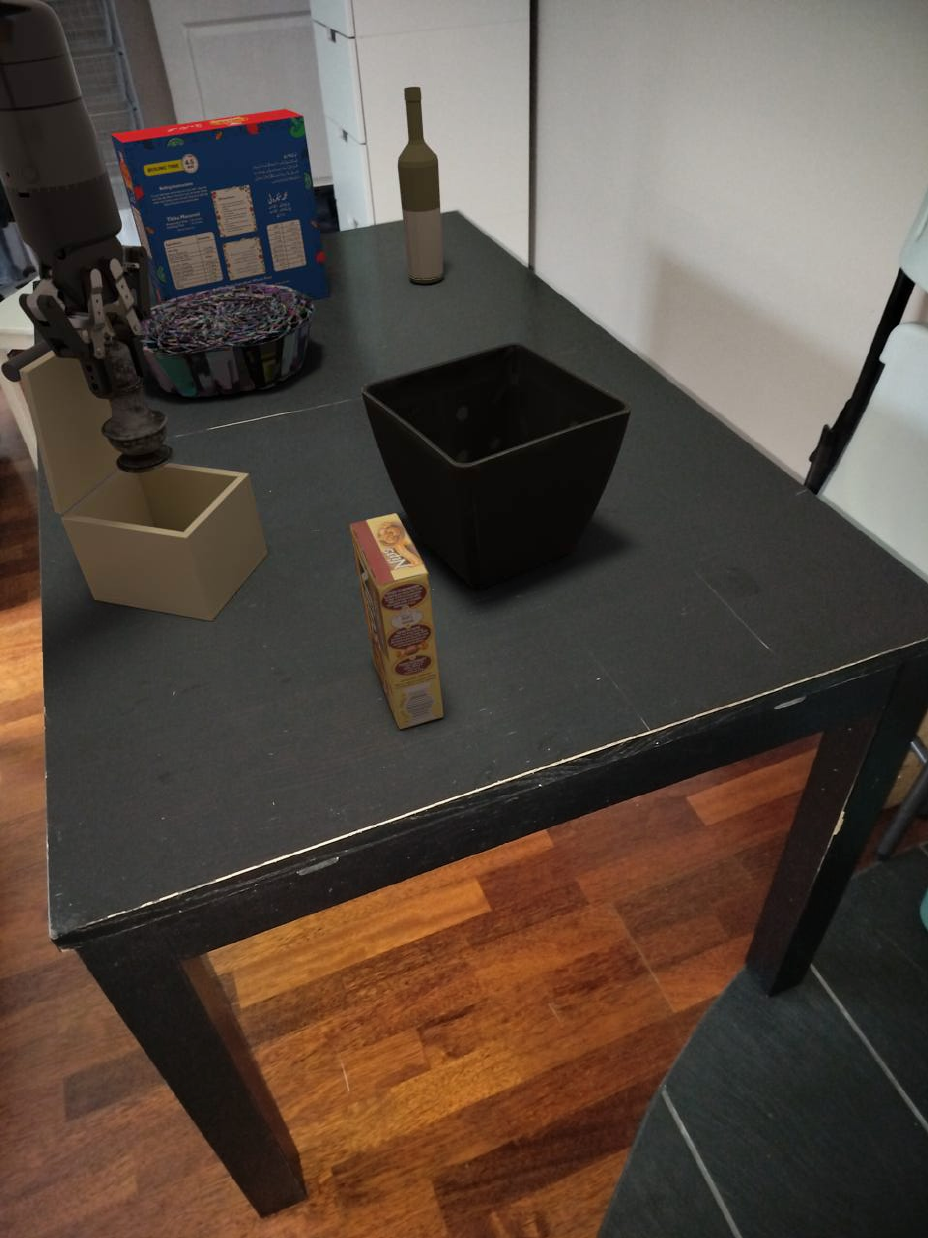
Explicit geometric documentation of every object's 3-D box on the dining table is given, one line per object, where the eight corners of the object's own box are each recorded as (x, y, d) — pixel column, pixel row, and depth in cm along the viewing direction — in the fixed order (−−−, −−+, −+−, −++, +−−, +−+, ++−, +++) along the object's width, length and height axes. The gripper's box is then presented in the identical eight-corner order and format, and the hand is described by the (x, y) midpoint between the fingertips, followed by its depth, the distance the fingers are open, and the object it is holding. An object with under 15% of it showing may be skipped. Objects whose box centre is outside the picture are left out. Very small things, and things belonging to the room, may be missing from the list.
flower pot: (624, 554, 88) (637, 402, 77) (469, 623, 81) (460, 466, 70) (518, 478, 101) (517, 338, 90) (376, 531, 94) (356, 386, 83)
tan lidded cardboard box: (268, 553, 91) (249, 473, 85) (211, 621, 83) (186, 537, 77) (158, 536, 95) (132, 457, 89) (93, 599, 86) (60, 518, 80)
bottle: (450, 274, 158) (439, 83, 138) (440, 287, 152) (427, 91, 133) (413, 272, 159) (397, 84, 140) (402, 285, 154) (384, 92, 135)
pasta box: (312, 283, 157) (285, 108, 139) (329, 295, 152) (303, 115, 134) (160, 317, 147) (110, 133, 129) (173, 331, 142) (122, 142, 124)
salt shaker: (99, 468, 79) (53, 341, 71) (140, 439, 83) (101, 316, 75) (151, 478, 77) (110, 348, 69) (190, 448, 81) (155, 322, 73)
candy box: (446, 718, 72) (433, 571, 62) (397, 732, 71) (376, 585, 61) (415, 652, 78) (398, 510, 68) (370, 665, 77) (347, 522, 67)
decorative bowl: (346, 393, 125) (342, 325, 119) (151, 425, 115) (136, 352, 109) (293, 335, 143) (287, 273, 137) (121, 359, 133) (106, 293, 127)
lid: (111, 319, 78) (60, 306, 79) (26, 372, 70) (-30, 356, 71) (134, 454, 88) (88, 441, 89) (62, 515, 80) (11, 499, 81)
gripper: (72, 149, 70) (133, 352, 81) (-56, 193, 60) (33, 419, 71) (150, 150, 68) (202, 358, 79) (31, 197, 58) (109, 428, 69)
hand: (122, 385), depth 75 cm, fingers closed on salt shaker, 3 cm apart
